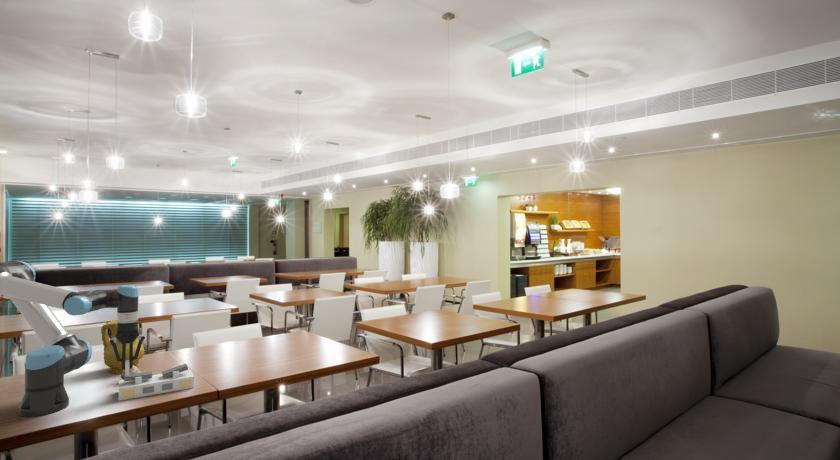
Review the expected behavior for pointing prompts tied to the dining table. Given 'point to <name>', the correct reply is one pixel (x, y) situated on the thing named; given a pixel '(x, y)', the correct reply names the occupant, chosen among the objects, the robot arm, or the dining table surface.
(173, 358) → the dining table surface
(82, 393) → the dining table surface
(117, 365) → the pitcher
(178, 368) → the rocker
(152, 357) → the dining table surface
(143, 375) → the rocker
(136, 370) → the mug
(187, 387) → the switch unit
